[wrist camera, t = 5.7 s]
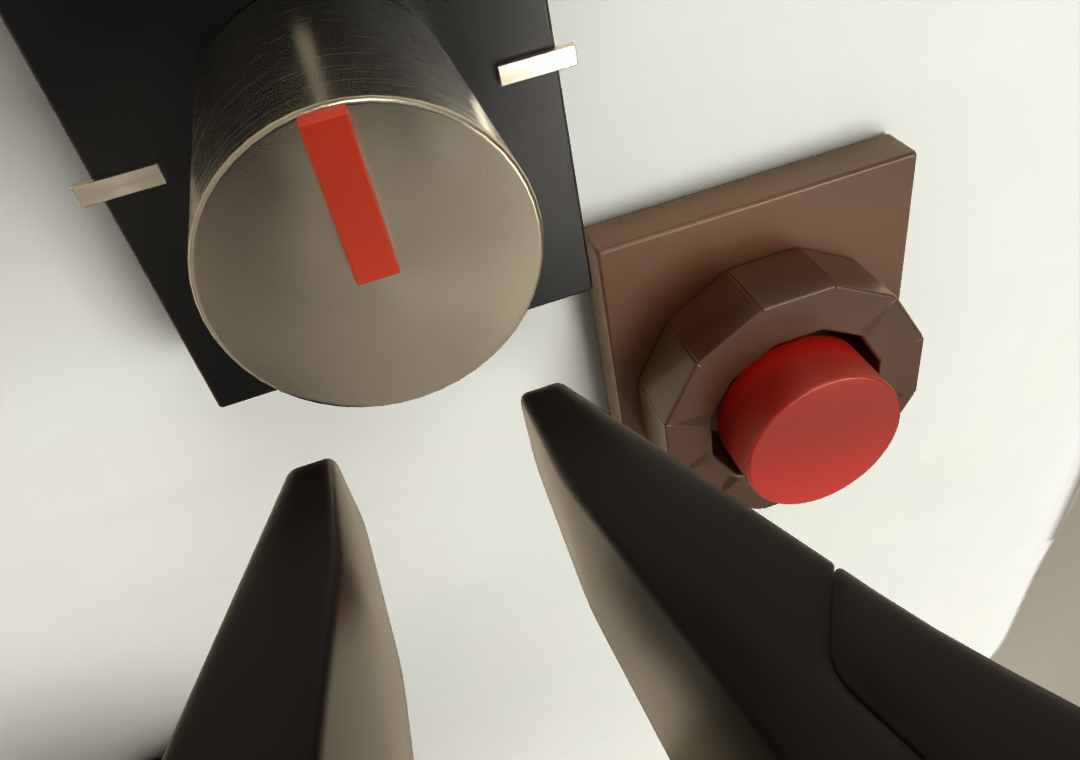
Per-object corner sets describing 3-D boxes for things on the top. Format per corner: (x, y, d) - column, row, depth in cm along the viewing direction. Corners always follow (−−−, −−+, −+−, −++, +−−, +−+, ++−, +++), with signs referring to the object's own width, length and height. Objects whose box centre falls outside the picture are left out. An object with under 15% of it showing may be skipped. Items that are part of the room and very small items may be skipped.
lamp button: (855, 430, 24) (893, 473, 22) (718, 478, 23) (749, 525, 22) (866, 312, 21) (910, 354, 20) (712, 363, 21) (746, 410, 19)
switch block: (860, 423, 28) (917, 489, 26) (624, 506, 27) (662, 581, 25) (888, 131, 21) (969, 184, 19) (578, 227, 20) (625, 295, 18)
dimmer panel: (571, 230, 20) (610, 289, 18) (205, 343, 19) (204, 419, 17) (479, -309, 14) (524, -308, 12) (-77, -179, 13) (-130, -154, 11)
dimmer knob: (485, 199, 16) (574, 363, 12) (254, 269, 16) (270, 463, 12) (426, -52, 14) (517, 58, 10) (143, 25, 13) (114, 173, 9)
